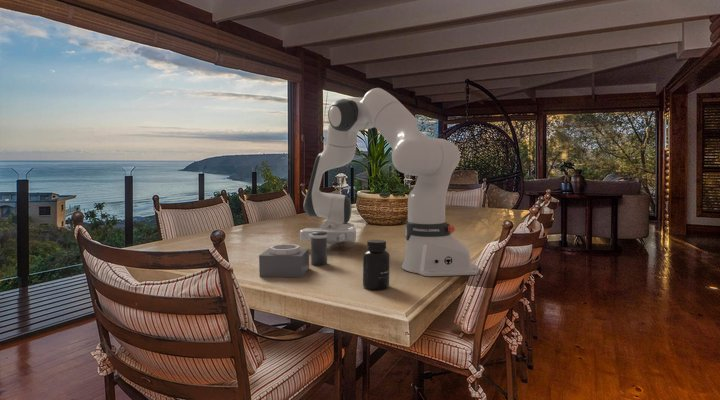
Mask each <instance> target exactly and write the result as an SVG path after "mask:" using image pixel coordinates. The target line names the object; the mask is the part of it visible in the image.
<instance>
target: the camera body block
mask: <svg viewBox="0 0 720 400" xmlns="http://www.w3.org/2000/svg"><path fill="white" fill-rule="evenodd" d="M258 262H259V263H258V266H259V269H258V271H259V273H258V274H259V277H266V278H268V277H269V278H271V277H272V278H303V277H304V275H305V274H306V272H308V270H309V269H310V248H301V245H298V244H294V243H281V244H280V243H279V244H274V245H270V247H269V248H268V249H267V250H265V251H262V253H261V254H259V255H258Z"/></svg>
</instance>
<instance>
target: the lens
mask: <svg viewBox="0 0 720 400" xmlns="http://www.w3.org/2000/svg"><path fill="white" fill-rule="evenodd" d="M327 264H328V244H327V232H325V231H313V232H311V241H310V265H312V266H317V267H319V266H320V267H321V266H325V265H327Z"/></svg>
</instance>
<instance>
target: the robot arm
mask: <svg viewBox="0 0 720 400" xmlns="http://www.w3.org/2000/svg"><path fill="white" fill-rule="evenodd" d="M327 117H328V122H329V124H328V127H327V132H326V133H327V134H326V143H325V147H324V149H323V150H322V152H320V153H318V155H317V156H316V158H315V161H314V164H313V168H312V172H311V176H310V180H309V184H308V189H307V192H306V196H305V197H304V200H303V211H304V212H305V213H306V214H307V215H308V216H309V217H314V218H317V217H318V218H319V217H321V218H325V219H326V220H325V221H323V223H322V224H321V225H320V227H305V228H303V229H300V230H299V240H300V241H305V242H306V241H310V242H311V232H313V231H325V232H327V245H334V244H339V243H345V242H346V243H347V242H348V243H350V242H356V241H357V229H356V227H355V225H354V224H355V223H350V222H349V221H350V219H351V217H352V216H351V215H352V209H353V208H352V207H353V206H352V201H351V199H350V198H349V197H348V196H347V195H345V194H339V193H330V192H322V191H321V190H320V187H321V183H322V179H323V175H324V173H325V172H327V171H329V170H333V169H337V168H342V167H344V166H346V165H348V164H349V163H351V162H352V160H354V158H355V155H356V150H357V145H358V144H357V143H358V142H357V141H358V133H359V131H365V130H370V129H376V130H377V131H378V132H379V133H380V135H381V136H383V138H384V139H385V140H386V141H387V143H388V144H389V145H390V147H391V151H392V152H391V161H392V165H393V166H394V169H395V170H396V171H398V172H400V173H402V174H405V175H408V176H415V177H416V181H415V185H414V187H413V188H412V190H411V191H410V192H409V193H408V196H407V220H406V223H405V239H406V245H405V251H404V252H405V253H404V258H403V261H402V264H401V268H402V269H403V270H405V271H407V272H410V273H414V274H418V275H421V276H423V277H446V276H451V277H452V276H475V275H478V274H479V271H480V270H479V267H478V265H477V264H476V263H474V262H472V258H471V257H472V256H471V253H470V250H469V249H468V247H467V246H466V245H465V244H463V243H462V241H460V240H458V239H457V238H456V237H455V236H453V235H452V233H454V232H455V231H456V227H455V226H454V225H453V224H450V223H448V222H446V203H447V194H448V188H449V185H450V181H451V178H452V175H453V173H454V170H455V169H456V168H457V167H458V165H459V163H460V160H461V154H460V153H461V152H460V150H459V147H458V146H457V145H456V144H455V143H453V142H451V141H449V140H447V139H445V138H437V137H435V138H434V137H429V136H426V135H424V134H423V133H422V132H421V131H420V128H419V127H418V125H419V123H418V120H417V118H416V117H415V116H414V114H412V112H410V110H409V109H408V108H407V107H405V106H404V104H402V102H400V101H399V100H398V99H397V98H396V97H395V96H394V95H392V94H391V93H389V92H388V91H387V90H384V89H383V88H381V87H376V88H375V87H374V88H371V89H370V90H368V91H367V92H366V93H365V94H364V96H363V97H360V96H359V97H349V98H341V99H337V100H334V101H333V102H332V103H331V104H330V105H329V109H328V113H327ZM475 264H476V265H477V266H476V265H475Z"/></svg>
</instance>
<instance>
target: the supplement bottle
mask: <svg viewBox="0 0 720 400" xmlns="http://www.w3.org/2000/svg"><path fill="white" fill-rule="evenodd" d="M366 249H367V250H366V251H364V253H363V254H362V255H363V257H362V285H363V288H365V289H366V290H369V291H383V290H387V289H388V288H389V287H390V266H391V265H390V264H391V263H390V262H391V260H390V259H391V256H390V253H389V252H388V251H387V250H386V249H387V241H386V240H384V239H369V240H367V243H366Z"/></svg>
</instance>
